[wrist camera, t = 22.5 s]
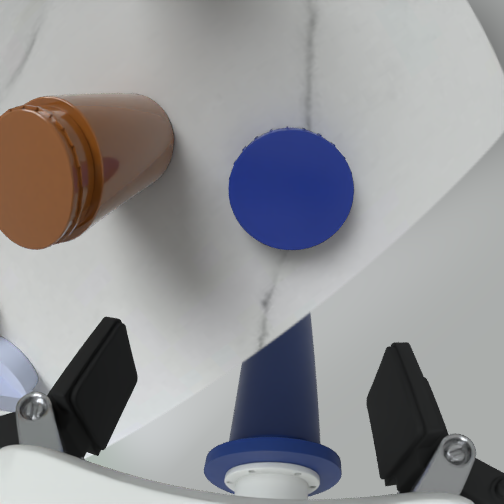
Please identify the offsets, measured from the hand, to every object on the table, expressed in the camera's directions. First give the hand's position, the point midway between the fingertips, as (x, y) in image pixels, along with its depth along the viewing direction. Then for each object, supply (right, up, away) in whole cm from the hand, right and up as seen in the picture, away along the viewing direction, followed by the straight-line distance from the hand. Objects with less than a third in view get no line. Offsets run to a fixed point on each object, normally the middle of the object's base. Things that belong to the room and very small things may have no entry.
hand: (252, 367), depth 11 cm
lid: (+2, +8, +8) cm, 11 cm away
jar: (-8, +11, +9) cm, 17 cm away
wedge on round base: (-34, -12, +23) cm, 43 cm away
